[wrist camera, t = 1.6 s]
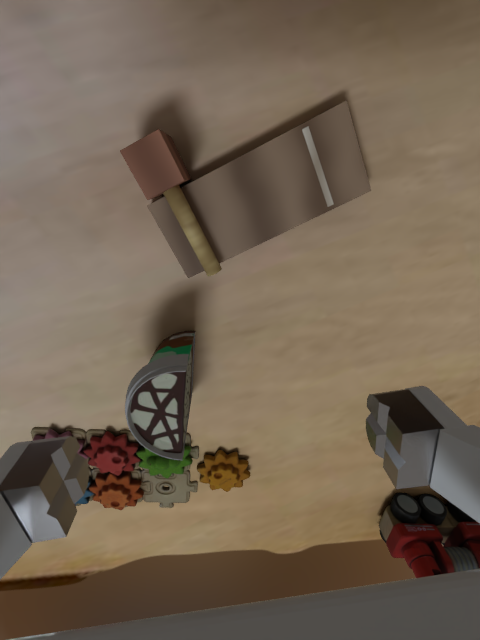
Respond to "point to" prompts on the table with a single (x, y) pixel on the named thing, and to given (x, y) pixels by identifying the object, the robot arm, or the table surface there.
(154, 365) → the food container
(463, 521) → the toy fire truck
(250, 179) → the walnut board
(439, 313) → the table surface
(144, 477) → the gear puzzle
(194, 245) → the toy wooden hammer
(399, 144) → the table surface
